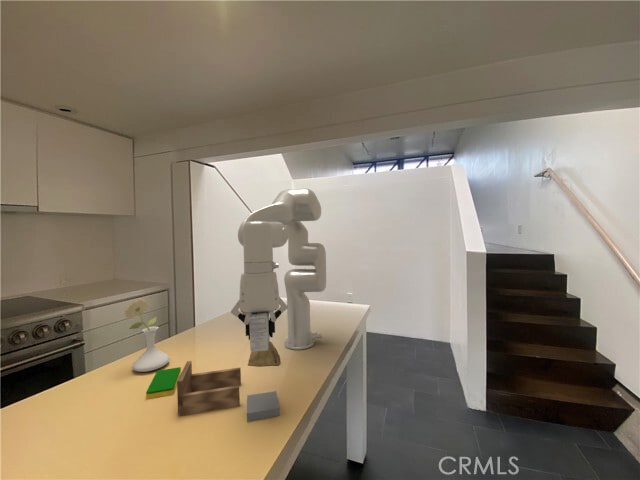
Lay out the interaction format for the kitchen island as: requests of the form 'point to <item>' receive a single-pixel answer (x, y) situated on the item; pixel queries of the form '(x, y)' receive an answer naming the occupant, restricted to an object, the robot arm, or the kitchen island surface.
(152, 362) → the flower in vase
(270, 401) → the plinth
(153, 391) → the dish sponge
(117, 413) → the kitchen island surface
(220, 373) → the rack
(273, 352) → the rock
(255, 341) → the medicine box
